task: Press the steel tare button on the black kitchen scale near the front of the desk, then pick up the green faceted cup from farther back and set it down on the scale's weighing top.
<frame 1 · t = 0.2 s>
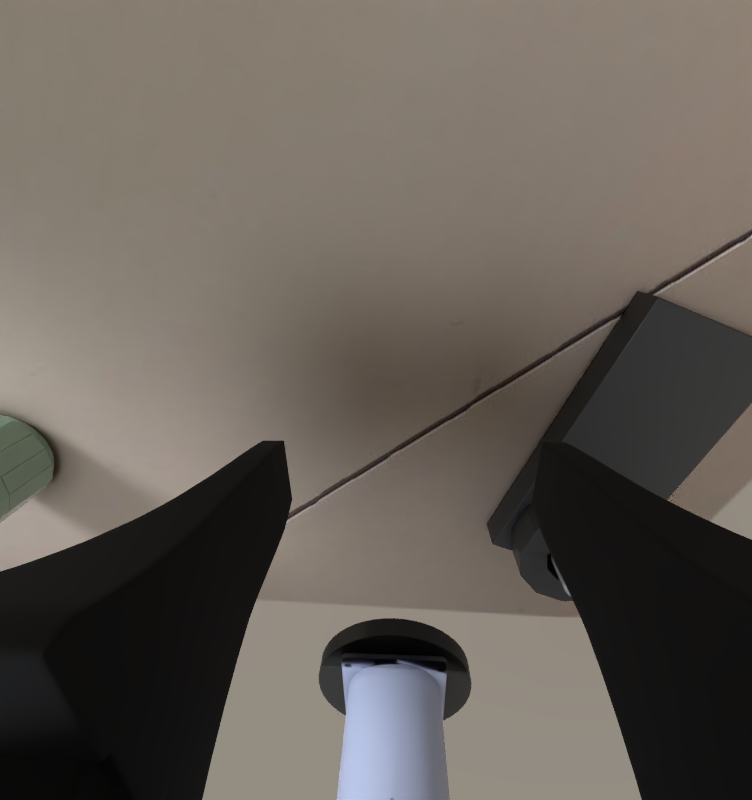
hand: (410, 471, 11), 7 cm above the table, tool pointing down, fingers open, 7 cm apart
green faceted cup: (14, 450, 21), on the table
scale: (607, 445, 19), on the table
tare button: (585, 567, 17), point 3 cm above the table, slide at 0.1 cm
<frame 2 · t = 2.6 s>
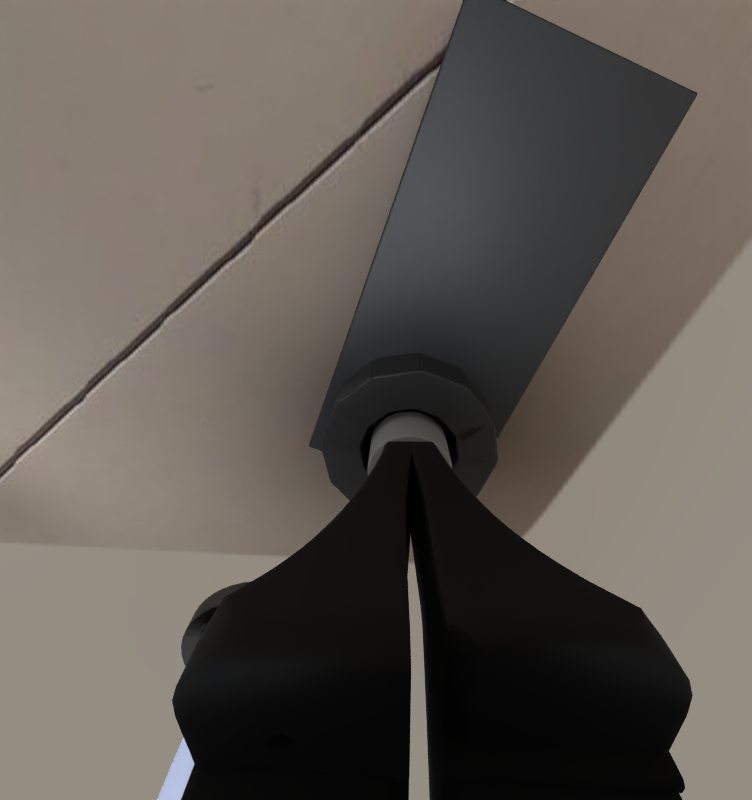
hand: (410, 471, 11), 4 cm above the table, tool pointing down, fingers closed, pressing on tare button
scale: (458, 296, 13), on the table
tare button: (409, 458, 12), point 3 cm above the table, slide at 0.0 cm, touching gripper
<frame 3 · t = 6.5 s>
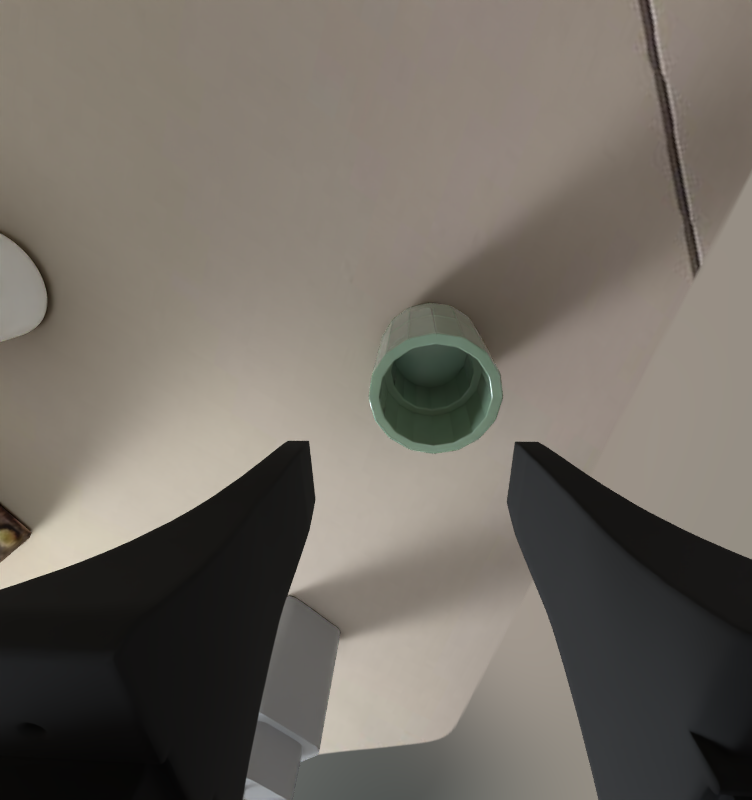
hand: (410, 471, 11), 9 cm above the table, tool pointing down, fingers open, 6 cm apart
drinking glass: (5, 280, 20), on the table
power adapter: (304, 619, 29), on the table
green faceted cup: (429, 350, 19), on the table
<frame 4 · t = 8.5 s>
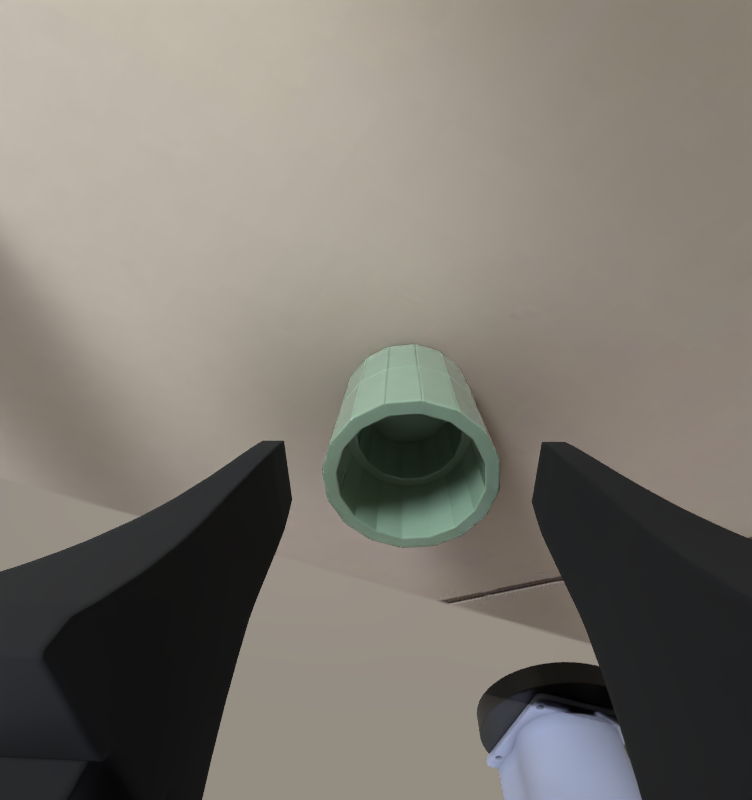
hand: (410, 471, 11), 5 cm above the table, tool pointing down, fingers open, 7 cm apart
green faceted cup: (406, 398, 16), on the table
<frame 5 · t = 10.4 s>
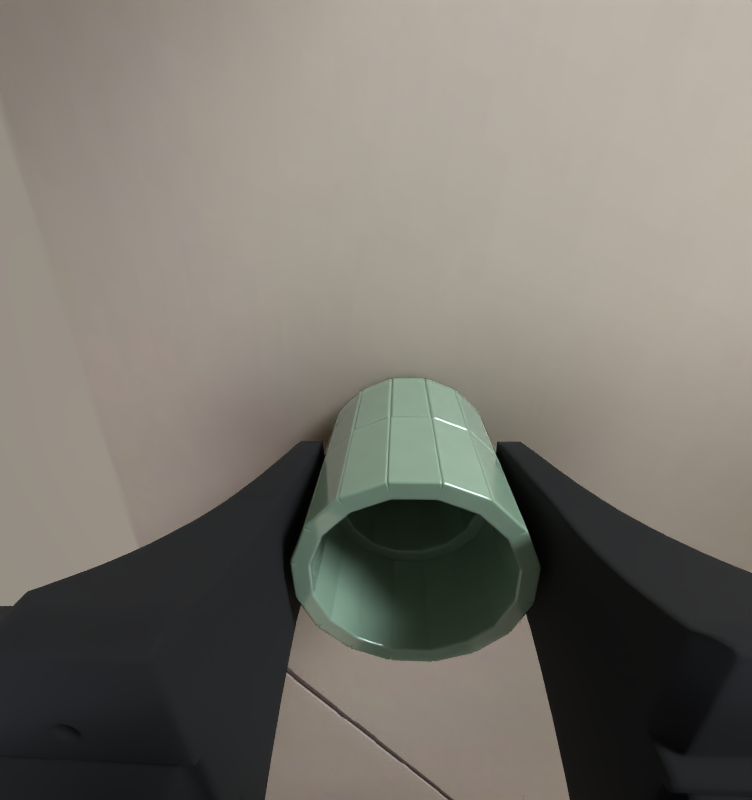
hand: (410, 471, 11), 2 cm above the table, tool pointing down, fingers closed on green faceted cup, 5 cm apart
green faceted cup: (407, 441, 13), on the table, touching gripper
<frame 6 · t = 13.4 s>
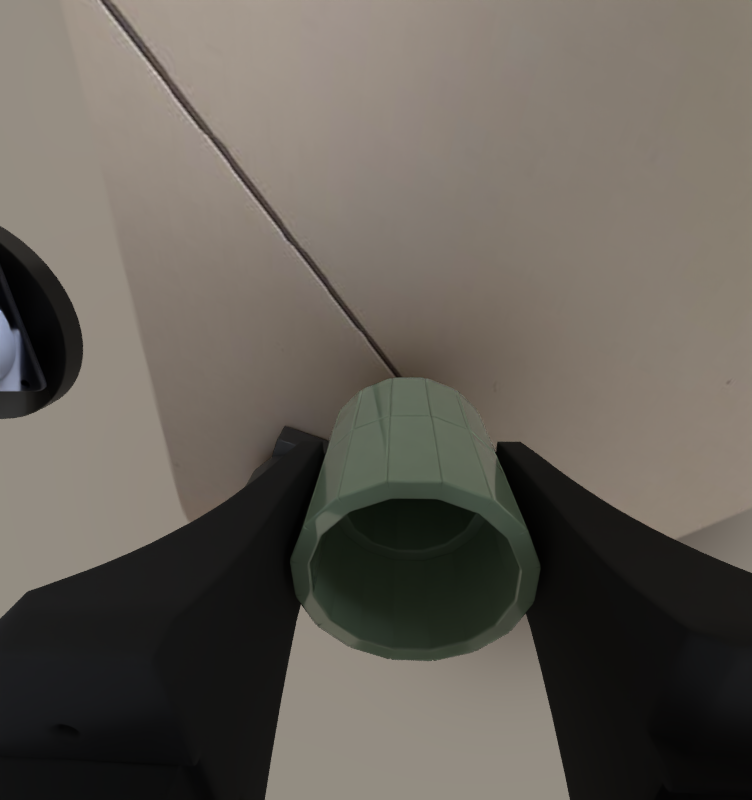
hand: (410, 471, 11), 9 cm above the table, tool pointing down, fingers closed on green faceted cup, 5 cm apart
green faceted cup: (407, 440, 13), point 7 cm above the table, touching gripper
scale: (378, 505, 23), on the table
when the fingers open (3 cm above the table, at t = 16.5 s): green faceted cup stays where it is, resting on scale.
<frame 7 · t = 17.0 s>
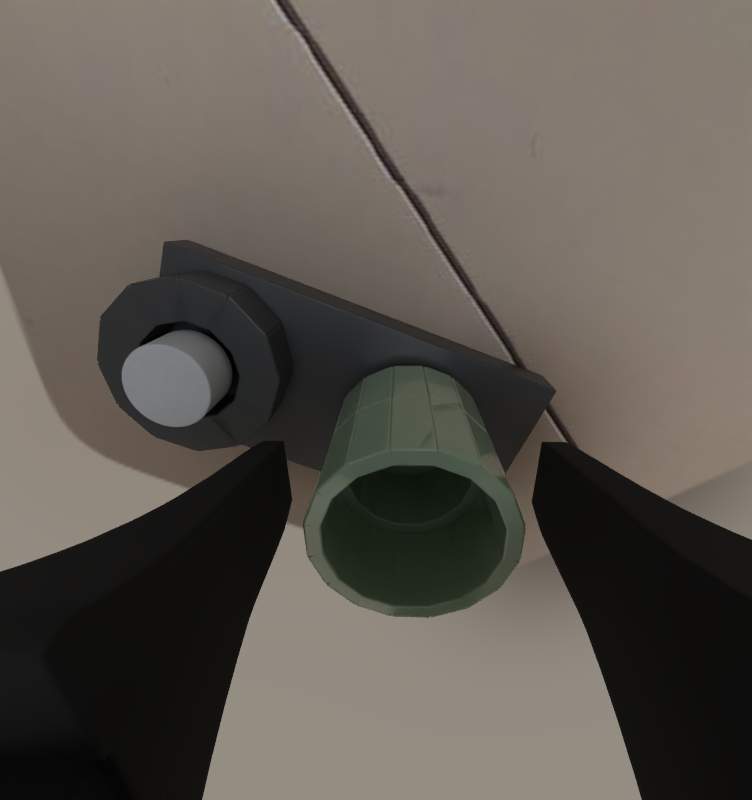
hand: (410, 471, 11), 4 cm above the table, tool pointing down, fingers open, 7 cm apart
green faceted cup: (407, 425, 14), point 1 cm above the table, touching scale
scale: (345, 386, 15), on the table
tare button: (180, 377, 11), point 3 cm above the table, slide at 0.1 cm
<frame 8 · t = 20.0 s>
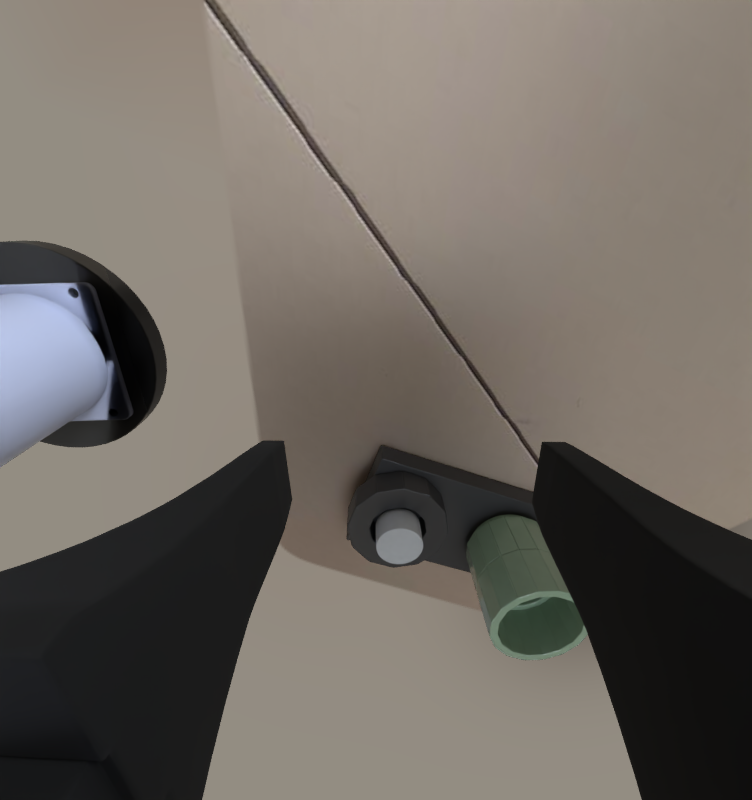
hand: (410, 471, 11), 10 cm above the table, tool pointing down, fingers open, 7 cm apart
green faceted cup: (504, 541, 24), point 1 cm above the table, touching scale
scale: (462, 514, 24), on the table
tare button: (398, 535, 21), point 3 cm above the table, slide at 0.1 cm
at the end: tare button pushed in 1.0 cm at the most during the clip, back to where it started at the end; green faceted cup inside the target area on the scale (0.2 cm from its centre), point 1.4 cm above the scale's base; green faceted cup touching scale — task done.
